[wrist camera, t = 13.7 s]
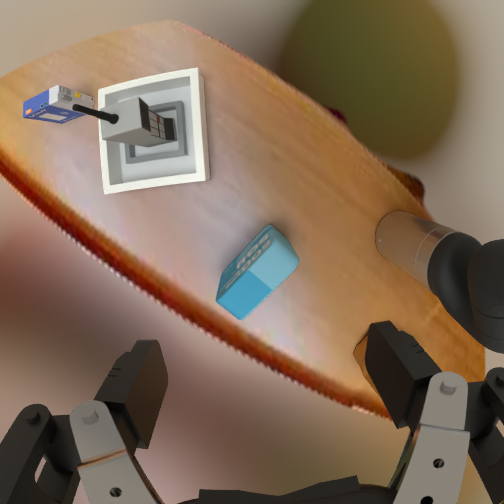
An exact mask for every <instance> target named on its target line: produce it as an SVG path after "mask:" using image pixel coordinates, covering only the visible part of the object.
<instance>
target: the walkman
mask: <svg viewBox="0 0 504 504" xmlns="http://www.w3.org/2000/svg"><path fill="white" fill-rule="evenodd" d="M74 104H78V105H82V106H85V107H88V108H91V109H94V107H93V105H94V98H93V97H91V96H88V95H85V94H83V93H80V92H78V91H75V90H71V89H68V88H65V87H63V86H60V85H57V86H55V87H53V88H51V89H49V90H47V91H45V92H43V93H41V94H39V95H37V96H35V97H33V98H31V99H29V100H27V101H25V102H24V103H23V118H28V119H35V120H42V121H49V122H55V123H64V122H67V121H69V120H72V119H75V118H77V117H80V116H83V115H86V114H85V113H81V112H77V111H73V110H72V106H73V105H74Z"/></svg>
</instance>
